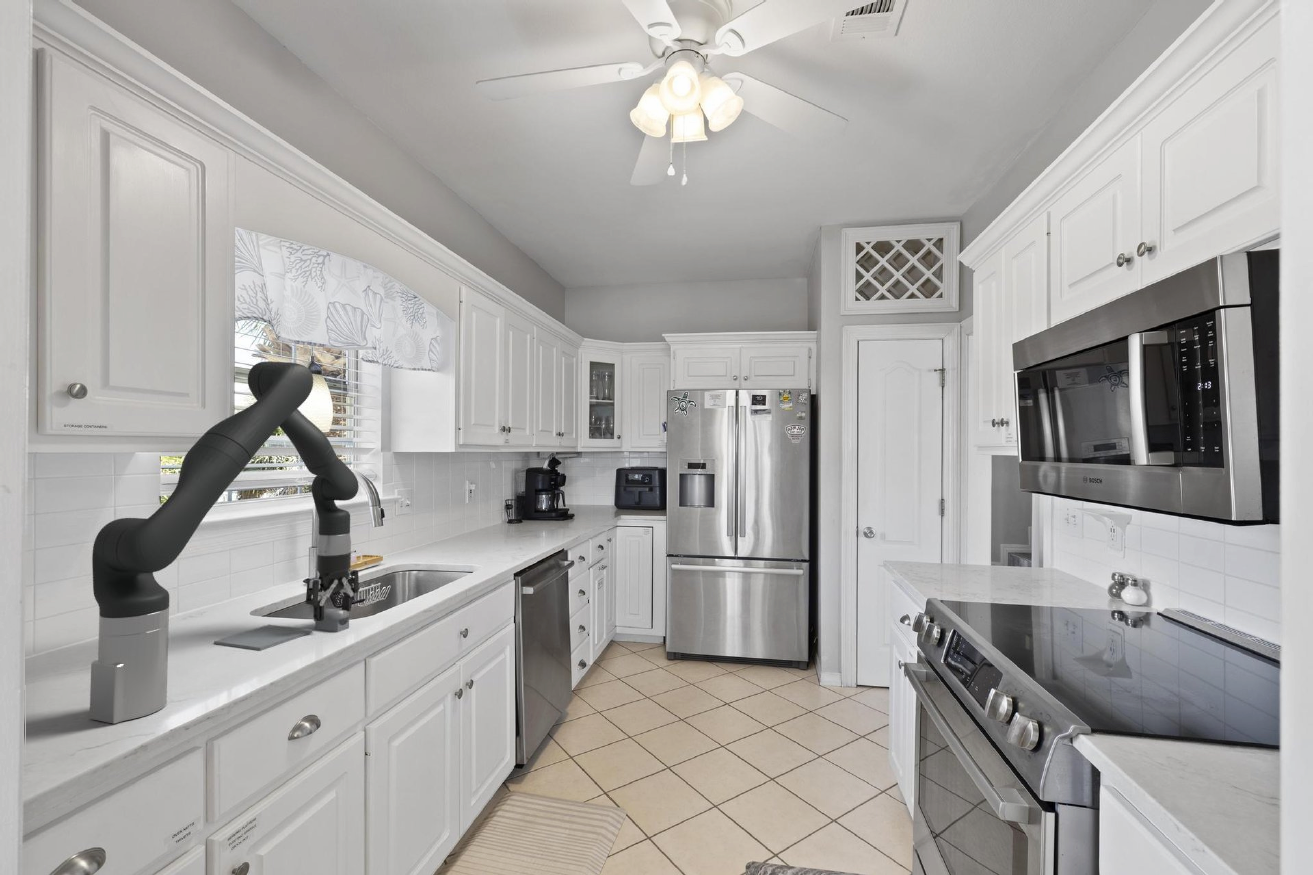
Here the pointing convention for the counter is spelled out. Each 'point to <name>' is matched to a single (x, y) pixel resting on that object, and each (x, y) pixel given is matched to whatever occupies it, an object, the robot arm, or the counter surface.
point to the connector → (333, 620)
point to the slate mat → (263, 637)
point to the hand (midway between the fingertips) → (333, 616)
